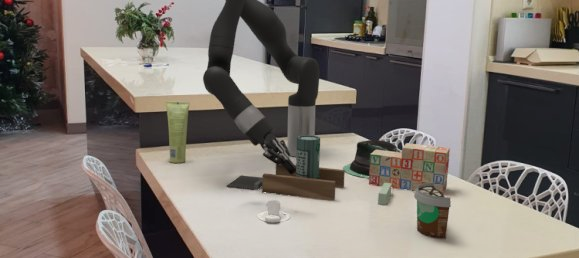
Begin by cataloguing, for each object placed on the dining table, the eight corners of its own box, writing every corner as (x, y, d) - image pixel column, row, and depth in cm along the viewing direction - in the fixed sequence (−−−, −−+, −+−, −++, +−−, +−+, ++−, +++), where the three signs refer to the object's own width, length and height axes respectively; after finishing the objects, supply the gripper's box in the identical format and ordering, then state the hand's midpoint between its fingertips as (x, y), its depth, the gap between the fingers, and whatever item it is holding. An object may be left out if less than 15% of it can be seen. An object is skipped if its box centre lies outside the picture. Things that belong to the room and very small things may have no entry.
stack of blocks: (368, 185, 175) (370, 143, 172) (374, 179, 180) (376, 139, 178) (443, 195, 166) (446, 152, 164) (447, 189, 172) (450, 147, 169)
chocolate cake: (419, 166, 192) (396, 183, 176) (371, 184, 203) (345, 202, 186) (399, 123, 193) (375, 136, 176) (352, 143, 203) (324, 157, 187)
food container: (405, 221, 145) (408, 181, 143) (430, 221, 146) (433, 181, 144) (420, 241, 133) (423, 198, 131) (447, 241, 134) (451, 198, 132)
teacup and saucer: (276, 227, 141) (276, 211, 140) (248, 220, 145) (249, 204, 144) (296, 216, 148) (296, 201, 147) (269, 210, 152) (269, 195, 152)
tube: (182, 158, 198) (181, 99, 194) (190, 161, 195) (189, 101, 191) (166, 161, 195) (165, 101, 191) (174, 164, 191) (173, 103, 187)
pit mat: (241, 176, 180) (241, 171, 179) (270, 179, 177) (270, 174, 177) (226, 187, 169) (226, 181, 169) (257, 190, 167) (257, 185, 166)
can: (322, 190, 168) (324, 137, 165) (307, 195, 164) (309, 141, 161) (306, 185, 172) (307, 134, 169) (291, 190, 168) (292, 137, 165)
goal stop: (383, 193, 167) (384, 182, 166) (390, 193, 166) (391, 183, 166) (377, 204, 158) (378, 193, 157) (385, 205, 157) (386, 194, 156)
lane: (277, 179, 177) (277, 163, 176) (344, 186, 172) (344, 169, 171) (262, 192, 165) (262, 174, 164) (333, 200, 159) (334, 182, 158)
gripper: (254, 120, 162) (297, 169, 160) (271, 112, 174) (310, 158, 173) (236, 138, 164) (277, 186, 163) (253, 129, 177) (292, 174, 175)
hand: (294, 171), depth 168 cm, fingers closed
